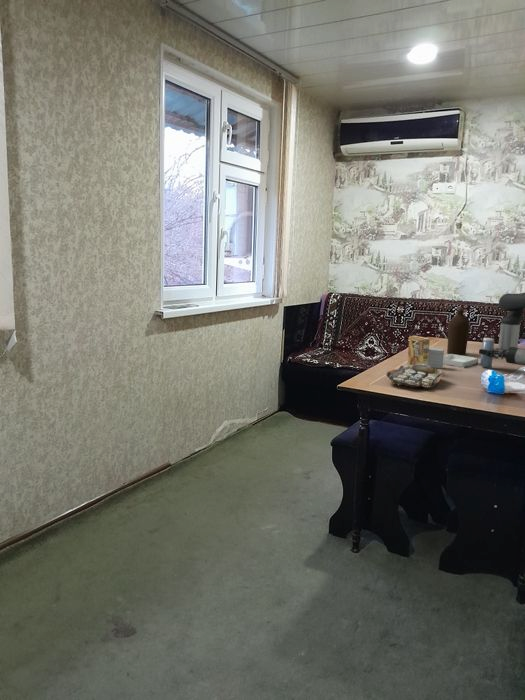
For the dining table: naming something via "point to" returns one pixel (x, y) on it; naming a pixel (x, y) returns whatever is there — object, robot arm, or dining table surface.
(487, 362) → the shaker
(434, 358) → the medicine box
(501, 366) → the dining table surface
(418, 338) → the candy box
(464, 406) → the dining table surface
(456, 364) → the tray
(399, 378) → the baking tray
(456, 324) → the brown bottle
